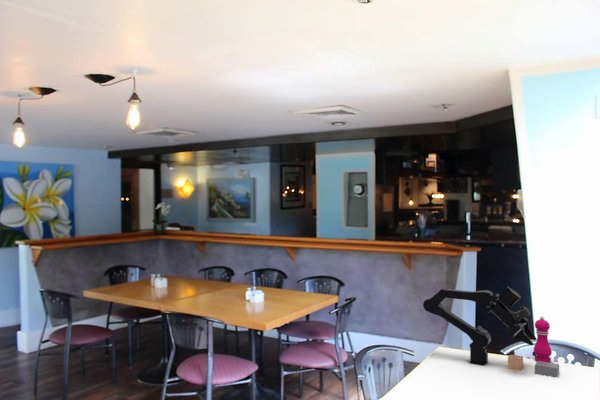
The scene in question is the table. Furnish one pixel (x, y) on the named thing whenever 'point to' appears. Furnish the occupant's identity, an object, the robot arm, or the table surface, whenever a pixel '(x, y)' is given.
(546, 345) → the pepper mill
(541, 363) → the gray box
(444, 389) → the table surface
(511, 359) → the terracotta block
